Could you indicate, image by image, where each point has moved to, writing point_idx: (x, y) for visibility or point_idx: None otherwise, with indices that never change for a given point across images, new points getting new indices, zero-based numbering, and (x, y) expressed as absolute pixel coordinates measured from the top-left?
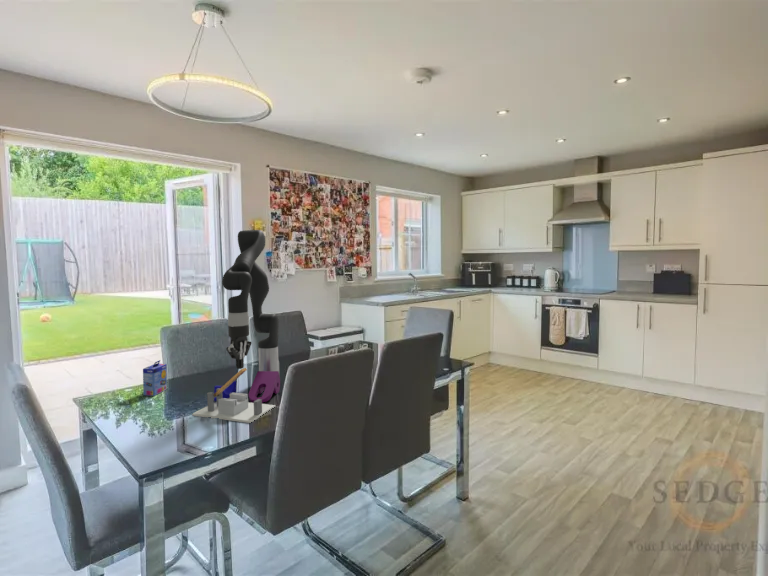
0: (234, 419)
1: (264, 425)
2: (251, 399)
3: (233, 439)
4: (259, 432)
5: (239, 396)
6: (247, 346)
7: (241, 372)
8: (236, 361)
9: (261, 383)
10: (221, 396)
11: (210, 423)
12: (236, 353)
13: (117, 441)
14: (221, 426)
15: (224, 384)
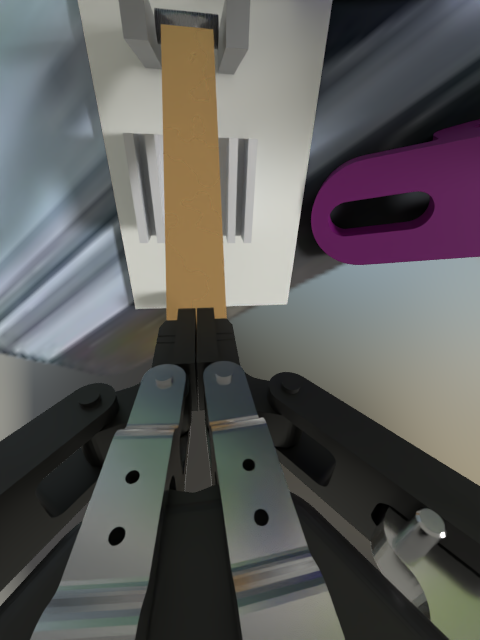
0: (124, 245)
1: (141, 348)
2: (317, 194)
3: (13, 330)
4: (95, 361)
5: (227, 209)
6: (363, 526)
7: None
8: (153, 366)
9: (436, 197)
10: (230, 61)
11: (53, 158)
12: (57, 521)
13: None
14: (60, 228)
15: (164, 151)
